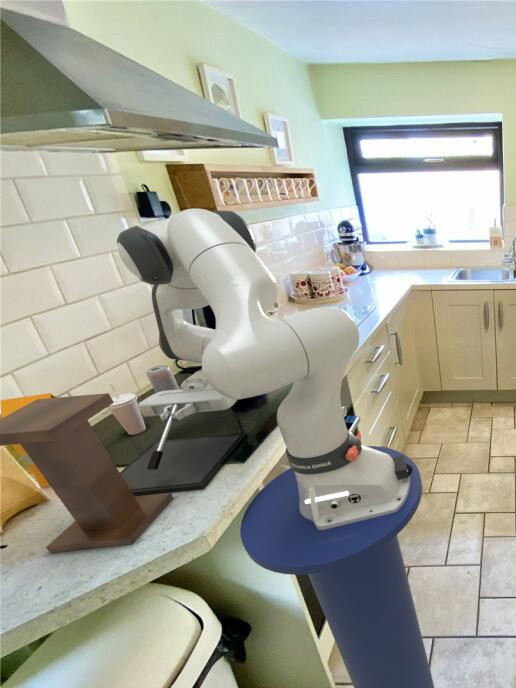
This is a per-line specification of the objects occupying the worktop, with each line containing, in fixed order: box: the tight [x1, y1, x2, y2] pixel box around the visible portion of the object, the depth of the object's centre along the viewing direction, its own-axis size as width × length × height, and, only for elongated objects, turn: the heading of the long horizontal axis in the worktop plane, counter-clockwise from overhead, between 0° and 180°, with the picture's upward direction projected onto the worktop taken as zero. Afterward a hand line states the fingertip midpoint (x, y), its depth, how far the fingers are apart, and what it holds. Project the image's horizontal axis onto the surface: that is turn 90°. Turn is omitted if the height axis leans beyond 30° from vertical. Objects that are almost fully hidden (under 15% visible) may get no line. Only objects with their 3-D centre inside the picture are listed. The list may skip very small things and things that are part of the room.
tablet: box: [119, 432, 248, 497], centre depth 96 cm, size 22×20×1 cm
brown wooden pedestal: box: [0, 392, 174, 554], centre depth 75 cm, size 14×12×25 cm
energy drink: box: [146, 364, 181, 393], centre depth 120 cm, size 5×5×12 cm
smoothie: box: [106, 382, 147, 436], centre depth 108 cm, size 6×6×14 cm
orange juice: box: [0, 392, 58, 488], centre depth 91 cm, size 8×9×20 cm
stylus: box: [147, 405, 179, 470], centre depth 95 cm, size 1×16×1 cm
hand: (169, 418), depth 97 cm, fingers closed on stylus, 1 cm apart
